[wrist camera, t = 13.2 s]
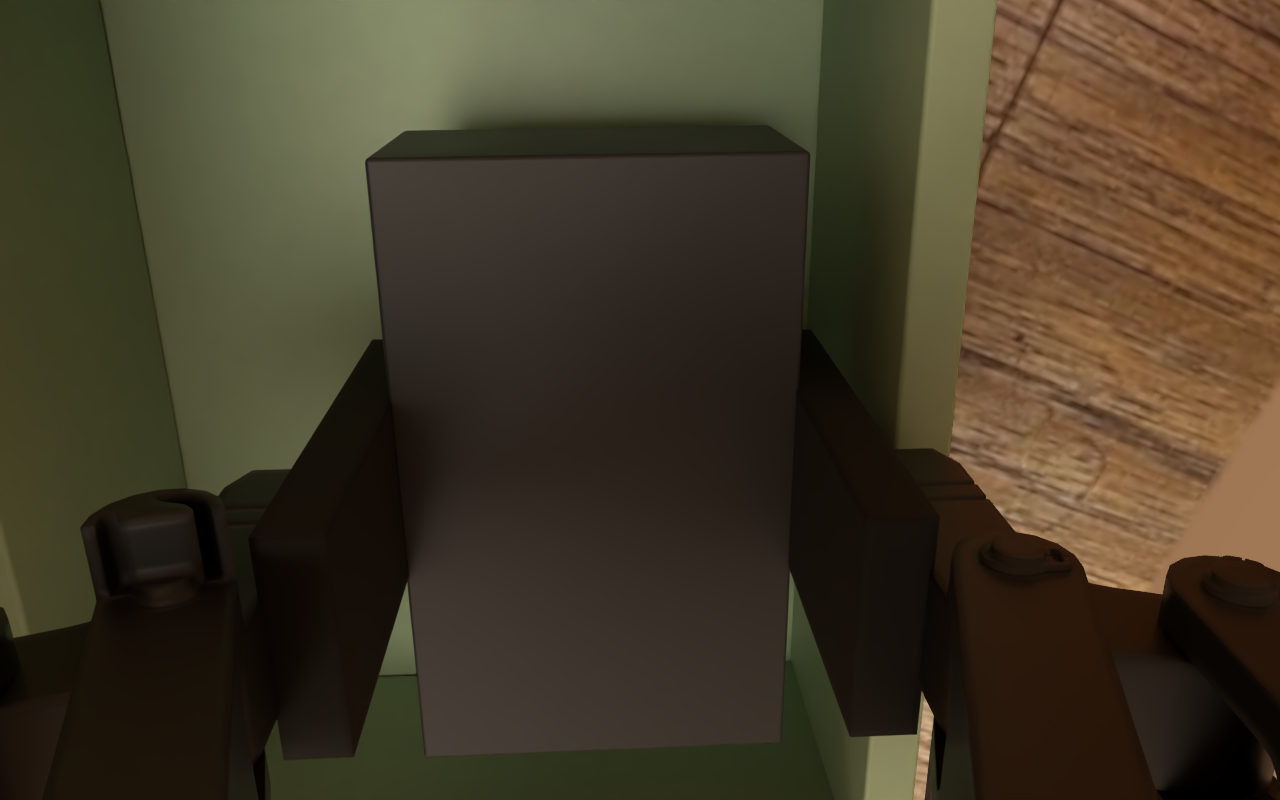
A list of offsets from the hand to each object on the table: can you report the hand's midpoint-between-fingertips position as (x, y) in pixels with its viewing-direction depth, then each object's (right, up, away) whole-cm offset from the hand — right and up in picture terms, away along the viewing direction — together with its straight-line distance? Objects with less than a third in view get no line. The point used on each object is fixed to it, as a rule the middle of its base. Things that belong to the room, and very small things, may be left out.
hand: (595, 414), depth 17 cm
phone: (0, 0, 0) cm, 0 cm away
